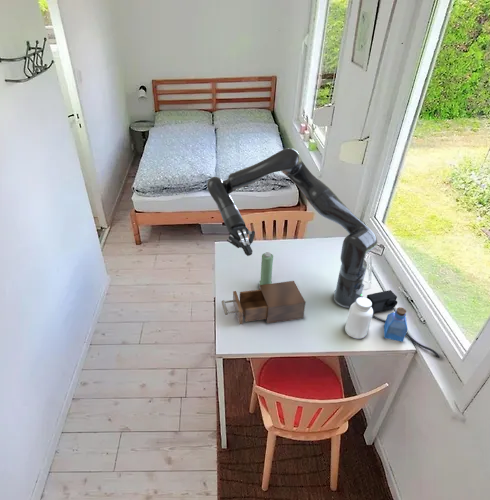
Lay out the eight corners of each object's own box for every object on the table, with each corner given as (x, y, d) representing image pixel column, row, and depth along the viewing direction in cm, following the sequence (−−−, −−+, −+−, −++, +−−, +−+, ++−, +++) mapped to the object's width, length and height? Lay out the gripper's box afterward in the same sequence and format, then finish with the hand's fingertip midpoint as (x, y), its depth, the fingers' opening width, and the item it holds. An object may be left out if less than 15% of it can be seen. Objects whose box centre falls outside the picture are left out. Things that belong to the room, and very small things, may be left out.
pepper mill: (273, 287, 165) (276, 254, 155) (265, 293, 162) (268, 259, 152) (264, 281, 168) (267, 248, 158) (256, 287, 166) (258, 253, 155)
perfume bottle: (401, 329, 143) (410, 306, 136) (402, 341, 138) (411, 318, 131) (383, 326, 145) (391, 302, 138) (384, 337, 140) (392, 314, 133)
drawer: (226, 326, 146) (226, 313, 142) (220, 305, 156) (220, 292, 152) (273, 319, 148) (274, 307, 144) (264, 299, 158) (265, 286, 154)
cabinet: (267, 323, 148) (268, 307, 143) (258, 300, 159) (259, 285, 154) (303, 318, 150) (305, 302, 145) (291, 296, 160) (293, 280, 155)
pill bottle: (367, 327, 145) (376, 297, 136) (365, 342, 139) (374, 312, 130) (346, 321, 148) (353, 292, 139) (343, 335, 142) (350, 306, 133)
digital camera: (371, 316, 149) (375, 303, 145) (363, 307, 153) (367, 294, 149) (394, 311, 151) (399, 298, 147) (386, 302, 155) (390, 289, 151)
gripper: (221, 216, 151) (239, 253, 145) (249, 211, 157) (267, 246, 150) (215, 226, 157) (232, 262, 151) (242, 220, 163) (259, 255, 157)
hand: (249, 254), depth 151 cm, fingers closed
